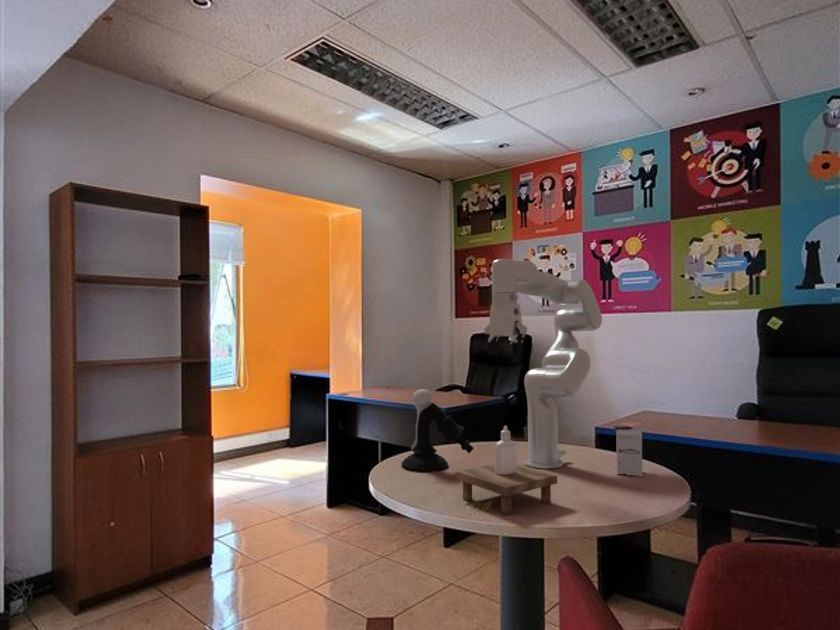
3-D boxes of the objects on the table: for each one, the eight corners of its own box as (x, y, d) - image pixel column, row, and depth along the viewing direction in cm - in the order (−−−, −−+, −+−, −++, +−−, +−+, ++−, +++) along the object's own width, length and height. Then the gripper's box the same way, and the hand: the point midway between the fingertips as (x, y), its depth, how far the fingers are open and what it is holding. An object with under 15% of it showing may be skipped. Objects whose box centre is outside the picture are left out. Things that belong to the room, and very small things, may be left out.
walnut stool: (506, 486, 145) (505, 461, 145) (557, 503, 130) (557, 475, 130) (456, 498, 134) (456, 471, 134) (506, 518, 120) (506, 487, 120)
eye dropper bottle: (518, 475, 130) (518, 427, 131) (496, 475, 130) (496, 427, 131) (515, 470, 135) (514, 424, 135) (493, 471, 135) (493, 424, 135)
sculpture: (408, 459, 177) (408, 386, 178) (477, 463, 172) (476, 387, 173) (395, 470, 162) (395, 390, 163) (470, 475, 157) (469, 392, 158)
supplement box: (616, 475, 157) (615, 433, 157) (617, 469, 164) (616, 429, 164) (643, 477, 154) (642, 434, 154) (642, 471, 161) (641, 430, 161)
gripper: (534, 298, 153) (535, 356, 152) (493, 301, 167) (494, 354, 167) (516, 297, 149) (517, 356, 148) (476, 300, 163) (476, 355, 162)
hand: (505, 355), depth 157 cm, fingers open, 9 cm apart
